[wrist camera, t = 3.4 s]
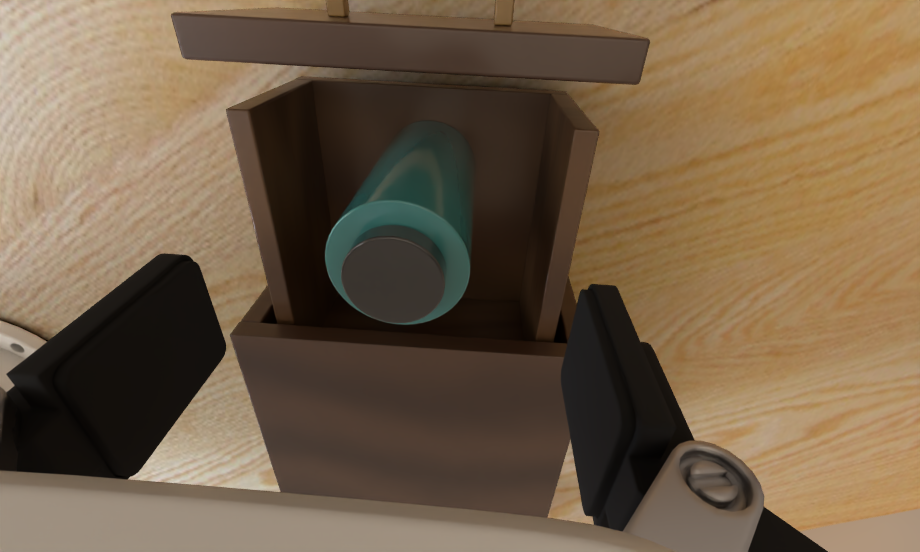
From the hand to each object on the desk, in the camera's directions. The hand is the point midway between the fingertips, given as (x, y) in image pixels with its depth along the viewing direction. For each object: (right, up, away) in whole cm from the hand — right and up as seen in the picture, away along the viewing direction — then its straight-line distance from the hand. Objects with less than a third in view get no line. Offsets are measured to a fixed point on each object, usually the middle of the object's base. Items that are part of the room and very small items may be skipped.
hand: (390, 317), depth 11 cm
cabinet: (0, -3, +19) cm, 19 cm away
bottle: (0, +6, +10) cm, 12 cm away
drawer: (0, +8, +10) cm, 13 cm away
